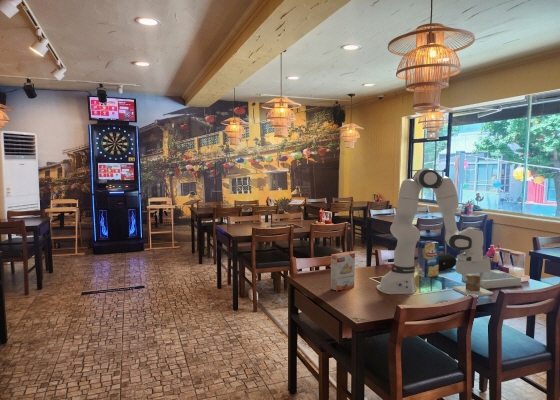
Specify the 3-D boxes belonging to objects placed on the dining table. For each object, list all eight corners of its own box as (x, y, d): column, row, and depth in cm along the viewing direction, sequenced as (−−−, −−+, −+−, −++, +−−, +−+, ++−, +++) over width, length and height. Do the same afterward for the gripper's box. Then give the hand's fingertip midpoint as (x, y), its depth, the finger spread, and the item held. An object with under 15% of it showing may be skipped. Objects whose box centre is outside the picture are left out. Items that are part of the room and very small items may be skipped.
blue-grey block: (497, 283, 215) (497, 273, 214) (490, 280, 219) (491, 271, 219) (504, 282, 216) (504, 272, 215) (497, 280, 221) (498, 270, 220)
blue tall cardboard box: (438, 275, 233) (439, 242, 231) (424, 277, 229) (425, 243, 228) (431, 272, 239) (431, 240, 237) (417, 274, 236) (418, 241, 234)
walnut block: (472, 291, 198) (472, 276, 197) (465, 288, 203) (466, 274, 202) (479, 290, 199) (480, 276, 198) (473, 287, 204) (473, 273, 203)
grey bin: (483, 289, 205) (483, 281, 205) (461, 280, 222) (462, 272, 222) (520, 286, 211) (521, 277, 210) (496, 277, 228) (496, 269, 227)
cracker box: (337, 292, 204) (337, 256, 202) (330, 289, 209) (330, 254, 207) (355, 287, 211) (355, 252, 209) (348, 285, 216) (348, 251, 214)
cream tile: (471, 297, 193) (471, 294, 193) (453, 289, 206) (453, 286, 206) (493, 295, 196) (493, 292, 196) (474, 287, 209) (474, 284, 209)
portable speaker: (429, 273, 238) (430, 259, 237) (418, 270, 247) (419, 255, 246) (457, 269, 248) (458, 255, 247) (445, 265, 257) (446, 252, 256)
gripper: (485, 254, 205) (484, 277, 206) (454, 255, 200) (453, 280, 201) (494, 256, 199) (492, 280, 200) (462, 258, 194) (461, 283, 195)
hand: (472, 280), depth 201 cm, fingers open, 8 cm apart
